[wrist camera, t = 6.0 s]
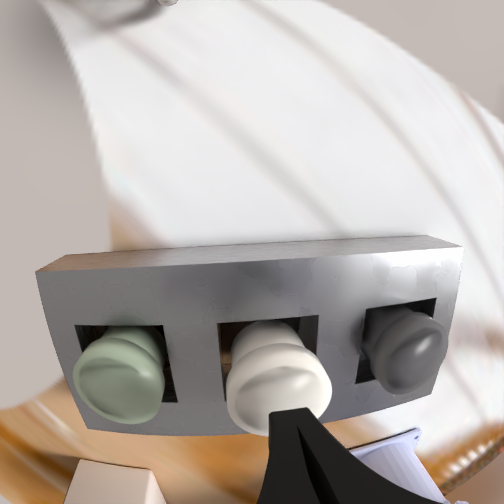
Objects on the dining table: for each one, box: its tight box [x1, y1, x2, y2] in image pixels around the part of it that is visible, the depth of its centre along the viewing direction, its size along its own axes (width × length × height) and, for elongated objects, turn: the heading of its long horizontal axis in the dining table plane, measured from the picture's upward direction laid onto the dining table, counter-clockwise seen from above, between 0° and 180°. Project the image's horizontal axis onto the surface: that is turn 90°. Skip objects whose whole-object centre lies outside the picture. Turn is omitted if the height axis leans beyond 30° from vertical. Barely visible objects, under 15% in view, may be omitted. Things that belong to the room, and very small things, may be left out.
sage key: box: [73, 325, 167, 424], centre depth 13 cm, size 4×4×4 cm
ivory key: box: [226, 320, 332, 436], centre depth 13 cm, size 4×4×4 cm
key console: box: [35, 236, 464, 436], centre depth 15 cm, size 10×22×4 cm, turn 92°
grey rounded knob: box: [361, 303, 448, 394], centre depth 14 cm, size 4×4×4 cm
